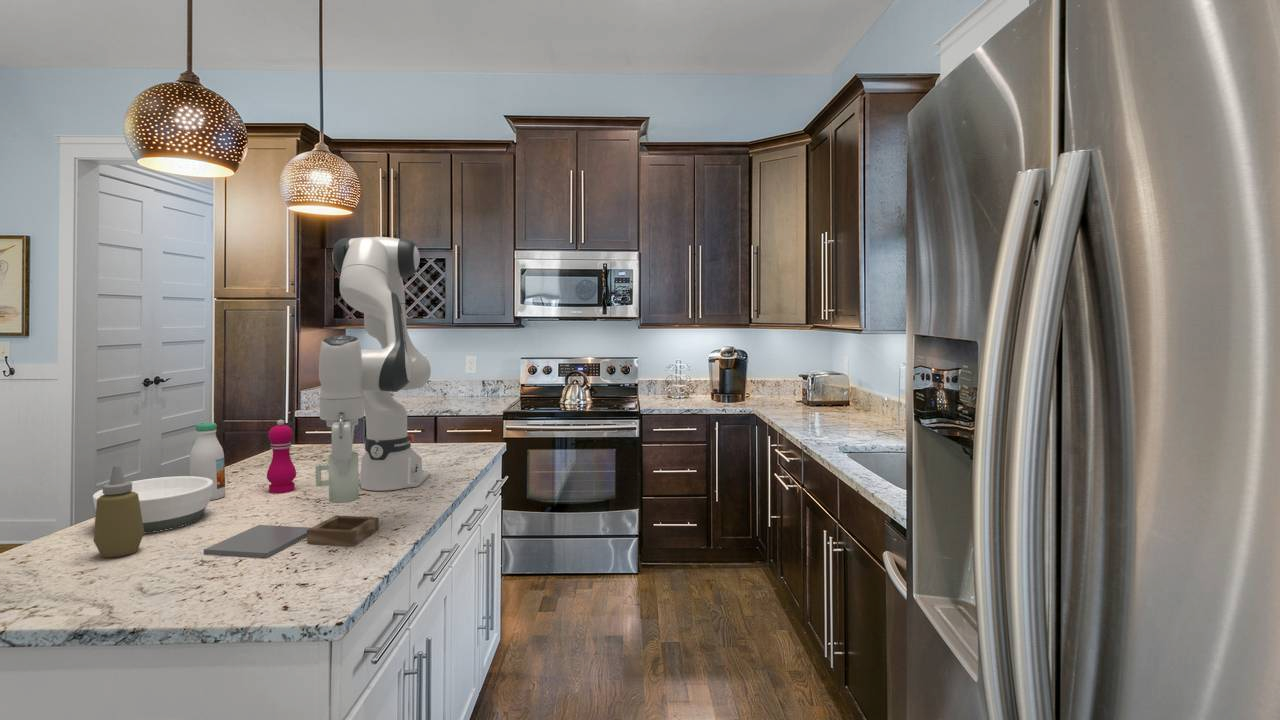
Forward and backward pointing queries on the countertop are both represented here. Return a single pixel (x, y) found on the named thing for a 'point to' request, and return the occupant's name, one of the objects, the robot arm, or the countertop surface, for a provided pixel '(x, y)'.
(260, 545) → the charcoal tile
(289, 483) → the pepper mill
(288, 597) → the countertop surface
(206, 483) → the bowl
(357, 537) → the walnut holder
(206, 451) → the milk bottle
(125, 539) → the squeeze bottle
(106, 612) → the countertop surface
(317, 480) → the pale green mug
